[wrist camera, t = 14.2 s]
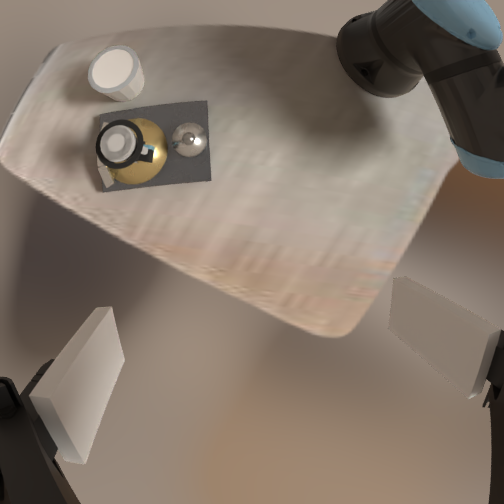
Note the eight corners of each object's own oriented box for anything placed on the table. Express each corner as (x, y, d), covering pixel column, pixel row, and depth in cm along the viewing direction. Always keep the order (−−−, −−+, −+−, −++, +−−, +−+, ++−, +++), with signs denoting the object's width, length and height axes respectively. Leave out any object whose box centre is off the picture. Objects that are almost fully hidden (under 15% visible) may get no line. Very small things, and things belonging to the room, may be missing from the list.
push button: (106, 168, 37) (77, 165, 28) (113, 130, 36) (87, 115, 27) (153, 174, 38) (135, 171, 29) (160, 134, 37) (145, 119, 28)
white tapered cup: (154, 94, 38) (144, 79, 31) (109, 113, 37) (93, 102, 31) (142, 56, 36) (132, 36, 29) (99, 74, 36) (83, 58, 29)
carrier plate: (207, 103, 39) (207, 95, 35) (211, 180, 41) (211, 180, 37) (102, 116, 37) (92, 110, 33) (105, 192, 40) (95, 193, 36)
